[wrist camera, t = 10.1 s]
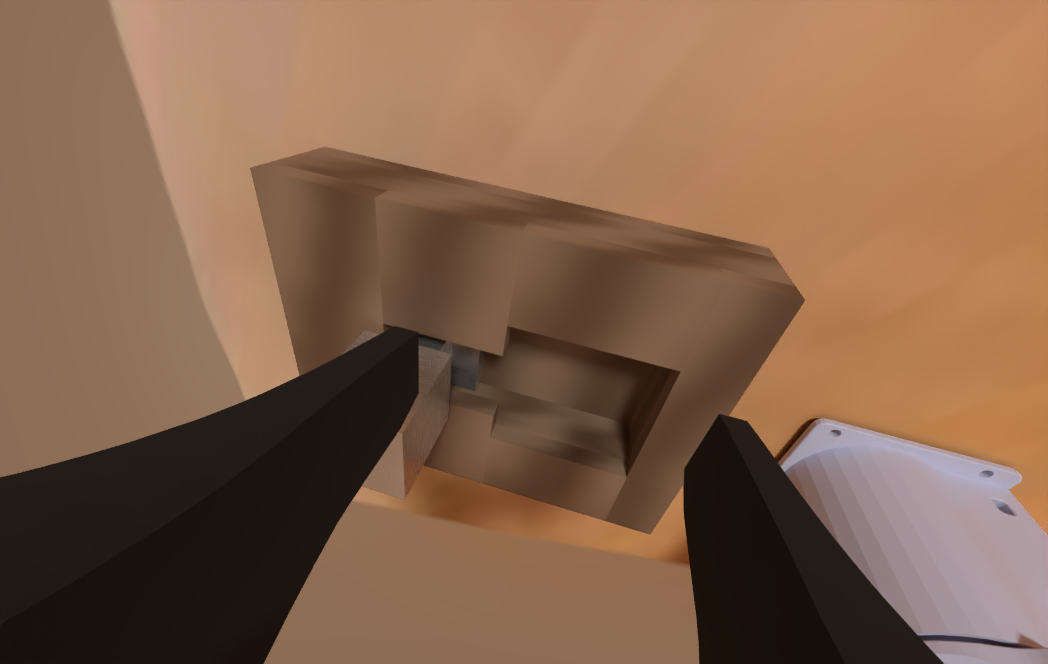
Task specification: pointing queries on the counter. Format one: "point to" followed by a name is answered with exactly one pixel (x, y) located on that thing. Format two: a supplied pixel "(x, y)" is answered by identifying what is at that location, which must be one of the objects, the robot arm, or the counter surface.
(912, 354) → the counter surface
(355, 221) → the keyhole plate
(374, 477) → the keyed peg
